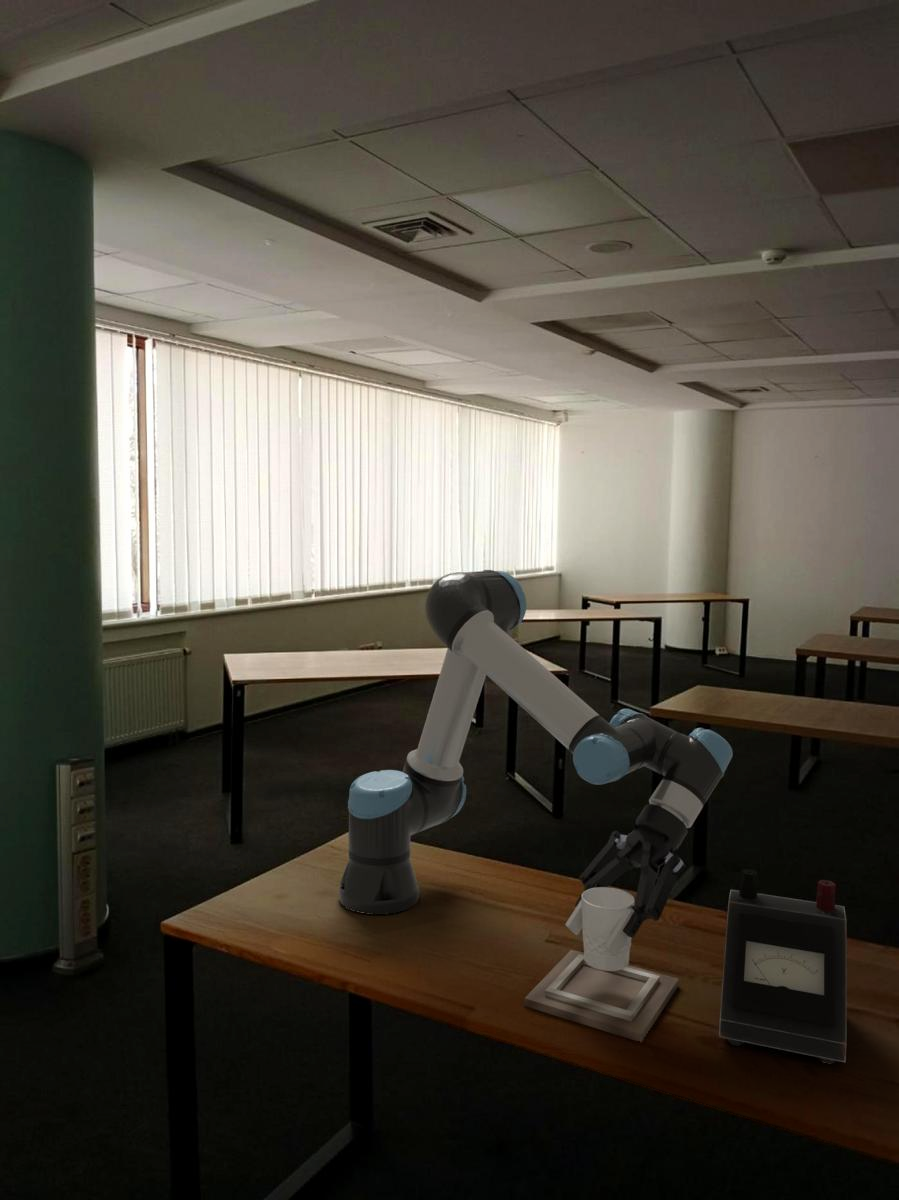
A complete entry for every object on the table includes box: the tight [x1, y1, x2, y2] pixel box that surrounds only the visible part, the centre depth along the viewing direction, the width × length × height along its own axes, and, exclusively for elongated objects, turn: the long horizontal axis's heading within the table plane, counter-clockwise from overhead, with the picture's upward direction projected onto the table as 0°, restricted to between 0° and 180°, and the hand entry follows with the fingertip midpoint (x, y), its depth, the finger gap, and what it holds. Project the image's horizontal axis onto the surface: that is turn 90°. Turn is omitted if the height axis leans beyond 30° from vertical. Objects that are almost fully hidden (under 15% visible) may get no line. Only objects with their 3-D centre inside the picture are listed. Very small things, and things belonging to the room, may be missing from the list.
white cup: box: [581, 886, 635, 971], centre depth 138 cm, size 8×8×10 cm
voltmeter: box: [718, 868, 847, 1063], centre depth 130 cm, size 16×16×20 cm
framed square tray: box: [523, 949, 680, 1043], centre depth 139 cm, size 18×18×2 cm
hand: (590, 940), depth 136 cm, fingers closed on white cup, 8 cm apart
